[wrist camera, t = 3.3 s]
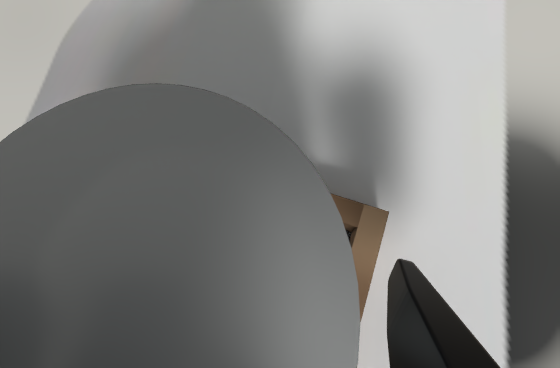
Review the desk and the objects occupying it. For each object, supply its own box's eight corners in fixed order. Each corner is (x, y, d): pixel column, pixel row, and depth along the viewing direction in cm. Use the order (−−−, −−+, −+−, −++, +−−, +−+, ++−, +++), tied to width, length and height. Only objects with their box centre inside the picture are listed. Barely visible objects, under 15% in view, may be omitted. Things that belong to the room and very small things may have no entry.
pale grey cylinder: (299, 339, 14) (242, 832, 2) (211, 302, 15) (-234, 462, 3) (328, 243, 15) (414, 145, 3) (244, 214, 16) (44, 47, 4)
